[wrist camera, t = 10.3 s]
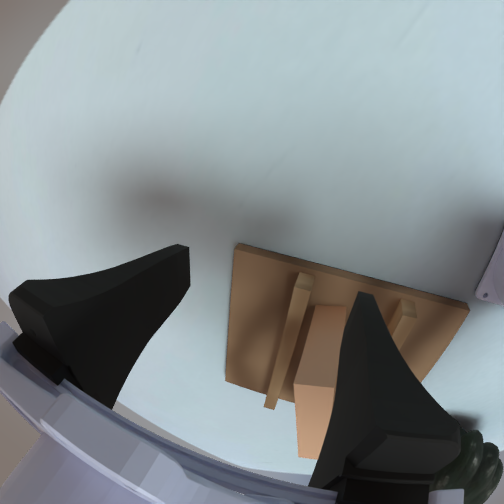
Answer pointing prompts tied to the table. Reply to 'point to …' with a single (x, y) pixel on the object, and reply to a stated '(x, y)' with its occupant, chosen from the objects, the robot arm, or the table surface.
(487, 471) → the squash
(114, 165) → the table surface
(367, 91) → the table surface
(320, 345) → the clay block
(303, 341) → the ribbed wooden panel
